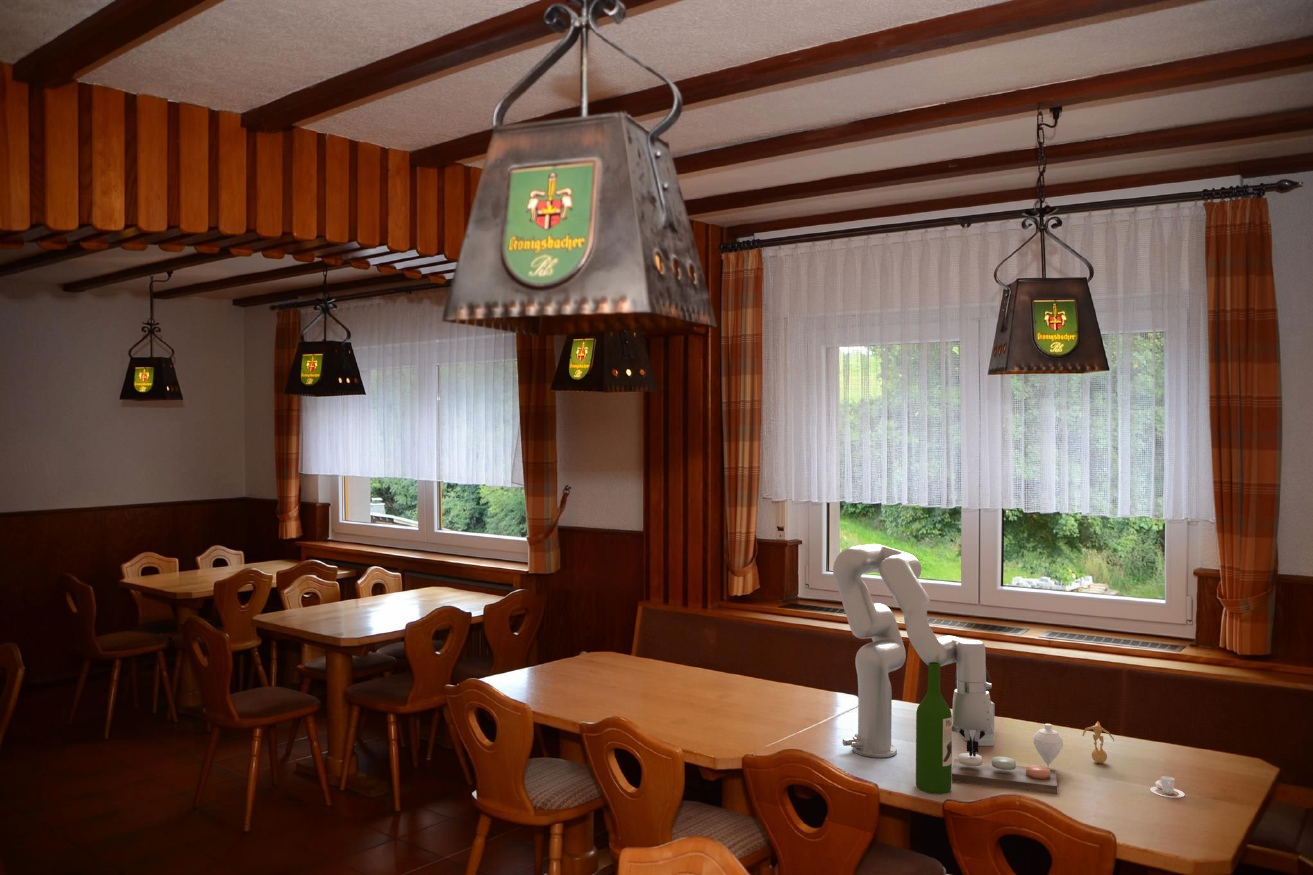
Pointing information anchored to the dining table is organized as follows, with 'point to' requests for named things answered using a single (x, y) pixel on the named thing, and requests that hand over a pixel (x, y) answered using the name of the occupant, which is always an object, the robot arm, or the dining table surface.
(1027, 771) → the terracotta button
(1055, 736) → the spinning top
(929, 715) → the wine bottle
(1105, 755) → the figurine
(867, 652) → the robot arm
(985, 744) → the supplement box
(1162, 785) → the teacup and saucer
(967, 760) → the cream button
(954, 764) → the button board
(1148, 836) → the dining table surface
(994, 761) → the sage button
